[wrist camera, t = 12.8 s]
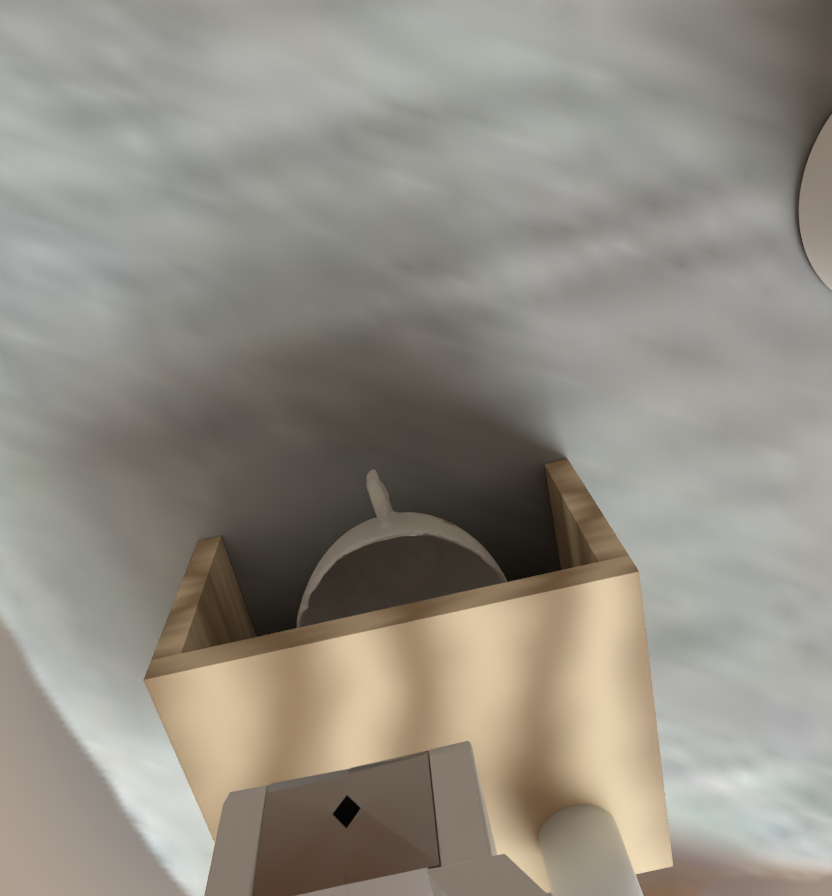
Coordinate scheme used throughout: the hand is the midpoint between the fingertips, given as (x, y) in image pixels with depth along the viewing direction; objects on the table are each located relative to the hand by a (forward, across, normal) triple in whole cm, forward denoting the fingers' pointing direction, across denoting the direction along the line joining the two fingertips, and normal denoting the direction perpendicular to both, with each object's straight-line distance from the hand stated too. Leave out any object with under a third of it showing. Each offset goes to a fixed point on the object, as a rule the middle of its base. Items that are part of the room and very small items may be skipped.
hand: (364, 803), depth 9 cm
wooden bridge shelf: (+37, +2, +24) cm, 44 cm away
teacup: (+37, +2, +18) cm, 41 cm away
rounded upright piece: (+24, -5, +30) cm, 39 cm away
